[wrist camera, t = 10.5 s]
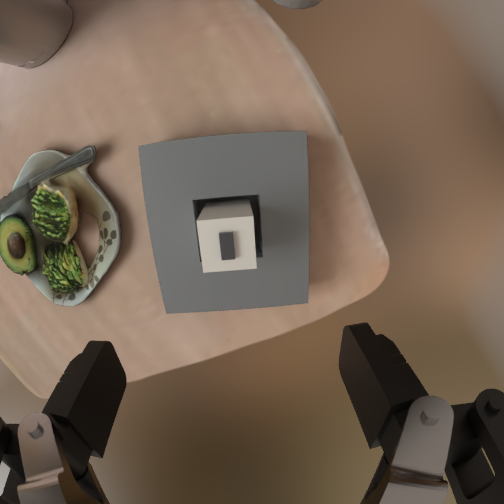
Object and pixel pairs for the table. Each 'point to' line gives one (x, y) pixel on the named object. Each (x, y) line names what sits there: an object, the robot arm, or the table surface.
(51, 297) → the avocado toast plate
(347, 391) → the robot arm
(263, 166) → the outlet box
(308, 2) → the coffee cup
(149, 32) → the table surface
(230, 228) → the block
